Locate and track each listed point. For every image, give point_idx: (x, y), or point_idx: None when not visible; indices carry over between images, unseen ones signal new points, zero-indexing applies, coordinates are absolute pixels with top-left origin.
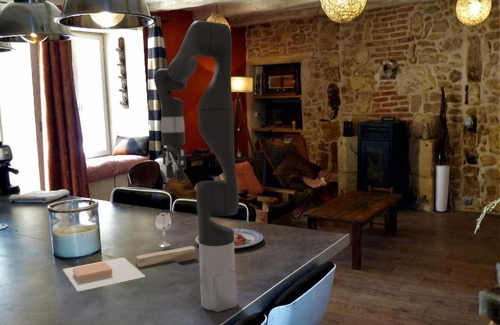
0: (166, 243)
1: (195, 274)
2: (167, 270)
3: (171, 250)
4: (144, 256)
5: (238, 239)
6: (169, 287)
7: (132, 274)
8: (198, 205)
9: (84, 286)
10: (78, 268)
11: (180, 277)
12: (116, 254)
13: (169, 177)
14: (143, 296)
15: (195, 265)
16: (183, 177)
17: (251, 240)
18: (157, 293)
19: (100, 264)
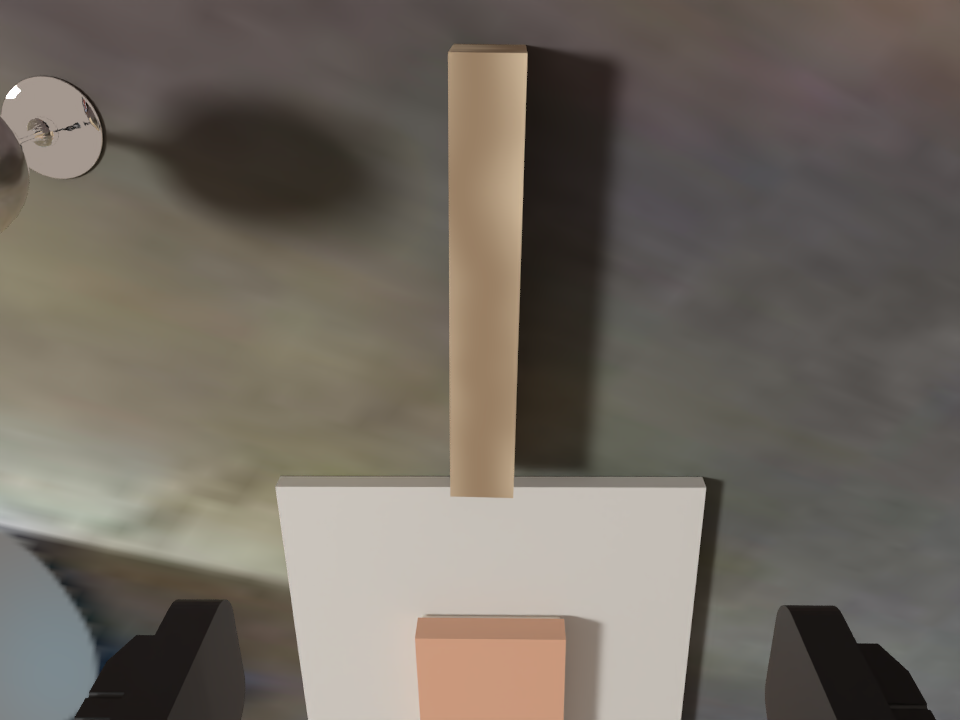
0: (49, 114)
1: (835, 200)
2: (636, 323)
3: (468, 252)
4: (488, 454)
5: None
6: (907, 414)
7: (621, 533)
8: None
9: None
10: None
11: (811, 304)
12: (134, 479)
13: (234, 672)
14: (912, 554)
15: (671, 119)
16: (858, 653)
17: None
18: (933, 491)
19: (445, 665)
